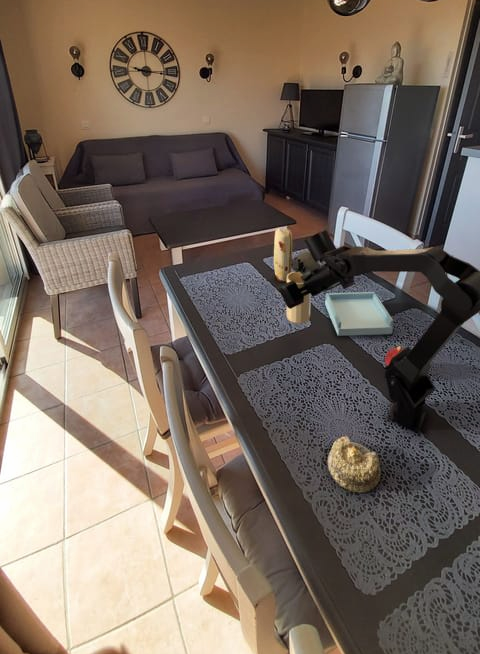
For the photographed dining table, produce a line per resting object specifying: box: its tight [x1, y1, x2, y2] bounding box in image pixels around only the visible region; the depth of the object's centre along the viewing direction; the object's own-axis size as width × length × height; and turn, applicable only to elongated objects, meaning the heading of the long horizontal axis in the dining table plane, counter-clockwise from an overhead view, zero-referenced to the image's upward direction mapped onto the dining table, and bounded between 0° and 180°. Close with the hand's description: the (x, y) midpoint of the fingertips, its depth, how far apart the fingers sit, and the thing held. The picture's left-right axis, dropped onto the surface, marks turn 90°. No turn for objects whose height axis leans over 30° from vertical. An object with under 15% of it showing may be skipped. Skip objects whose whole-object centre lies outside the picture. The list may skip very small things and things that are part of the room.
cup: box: [286, 271, 312, 324], centre depth 102 cm, size 7×7×13 cm
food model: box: [273, 227, 293, 283], centre depth 134 cm, size 10×7×20 cm
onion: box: [384, 345, 403, 367], centre depth 91 cm, size 6×6×8 cm
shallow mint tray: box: [324, 291, 394, 337], centre depth 113 cm, size 16×16×4 cm
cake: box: [327, 435, 382, 494], centre depth 69 cm, size 10×10×5 cm
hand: (295, 294), depth 103 cm, fingers closed on cup, 7 cm apart
